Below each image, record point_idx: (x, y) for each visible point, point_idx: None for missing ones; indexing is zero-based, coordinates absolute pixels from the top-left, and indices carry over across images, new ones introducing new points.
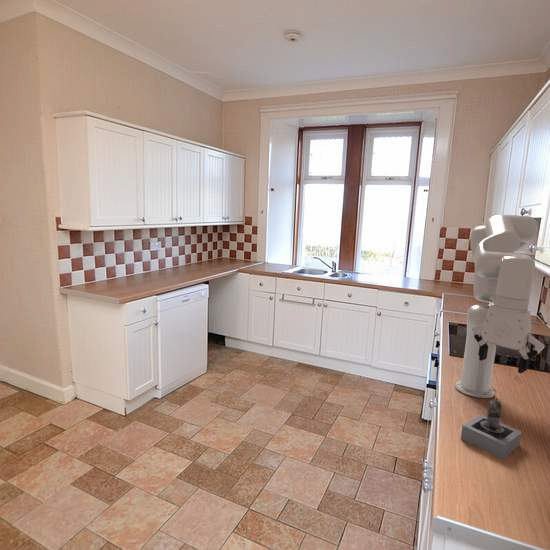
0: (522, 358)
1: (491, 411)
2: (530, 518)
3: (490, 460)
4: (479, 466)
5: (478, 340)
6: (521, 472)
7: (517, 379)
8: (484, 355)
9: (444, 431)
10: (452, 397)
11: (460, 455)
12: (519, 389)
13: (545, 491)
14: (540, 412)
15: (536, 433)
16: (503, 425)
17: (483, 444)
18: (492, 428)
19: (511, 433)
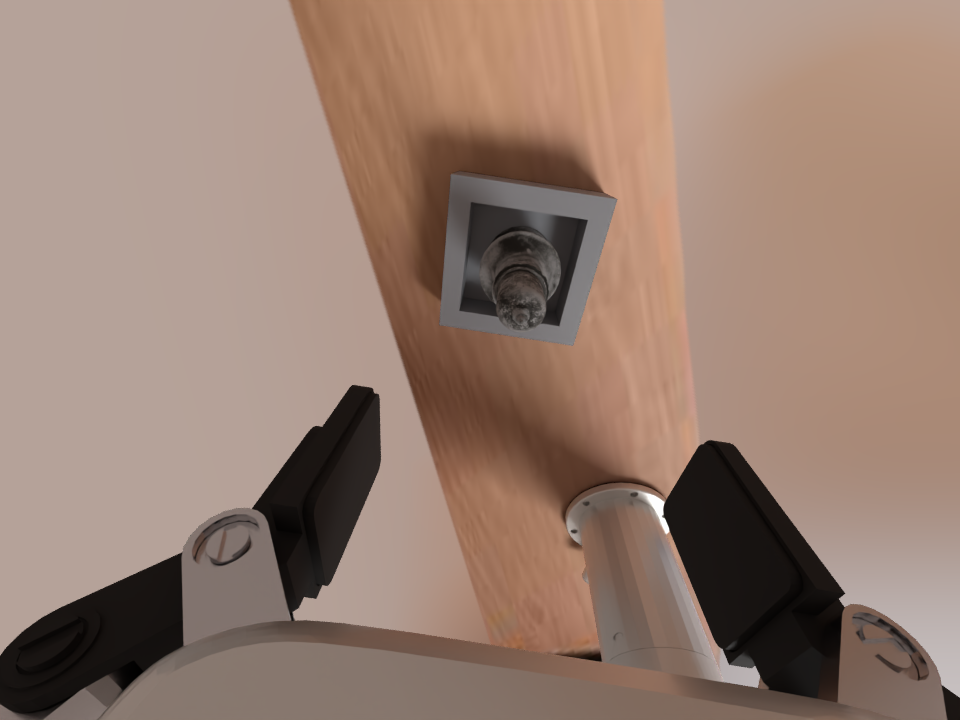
0: (282, 512)
1: (529, 276)
2: None
3: (487, 123)
4: (506, 31)
5: (948, 715)
6: (396, 136)
7: (535, 611)
8: (704, 507)
9: (665, 196)
10: (668, 445)
11: (582, 50)
12: (521, 575)
13: (312, 75)
14: (457, 505)
15: (435, 404)
16: (494, 324)
17: (526, 182)
18: (513, 245)
19: (460, 287)
